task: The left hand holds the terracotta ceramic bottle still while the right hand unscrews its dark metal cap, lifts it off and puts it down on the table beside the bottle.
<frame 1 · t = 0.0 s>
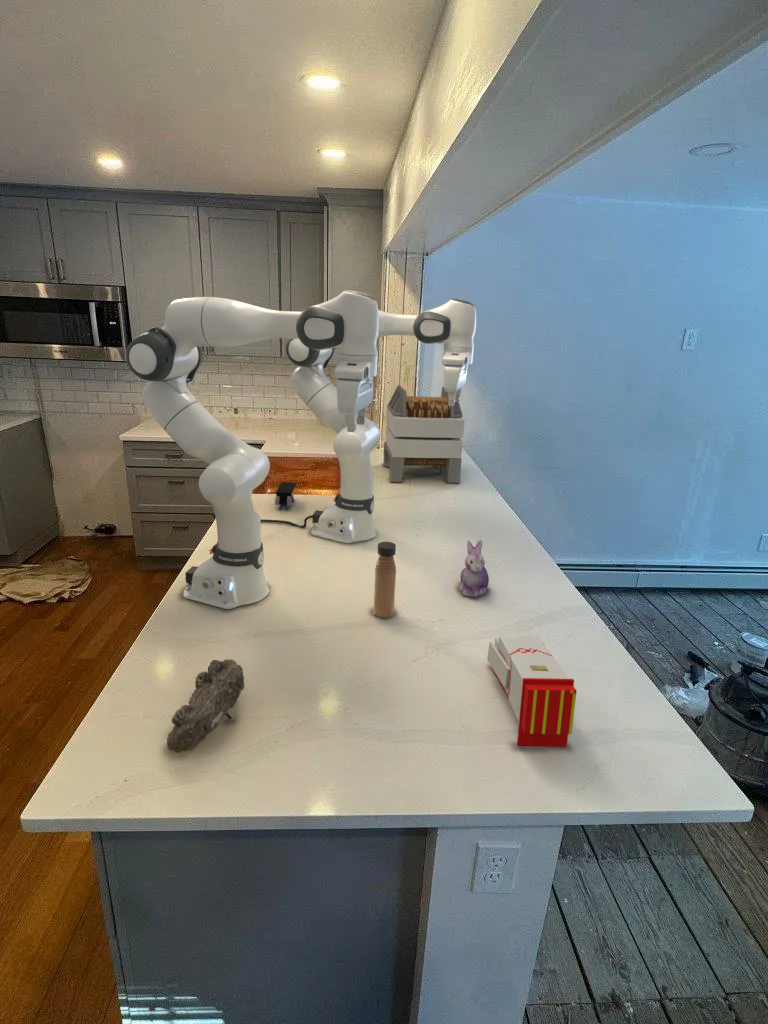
left hand: (356, 427, 133), 48 cm above the counter, tool pointing down, fingers open, 8 cm apart
right hand: (454, 403, 174), 48 cm above the counter, tool pointing down, fingers open, 8 cm apart
fossil: (212, 717, 108), on the counter
bottle: (383, 612, 148), on the counter
cap: (386, 546, 142), point 19 cm above the counter, screwed on, not yet turned
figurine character: (285, 505, 223), on the counter
toy: (522, 699, 117), on the counter
figurine: (473, 590, 162), on the counter
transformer: (419, 473, 275), on the counter
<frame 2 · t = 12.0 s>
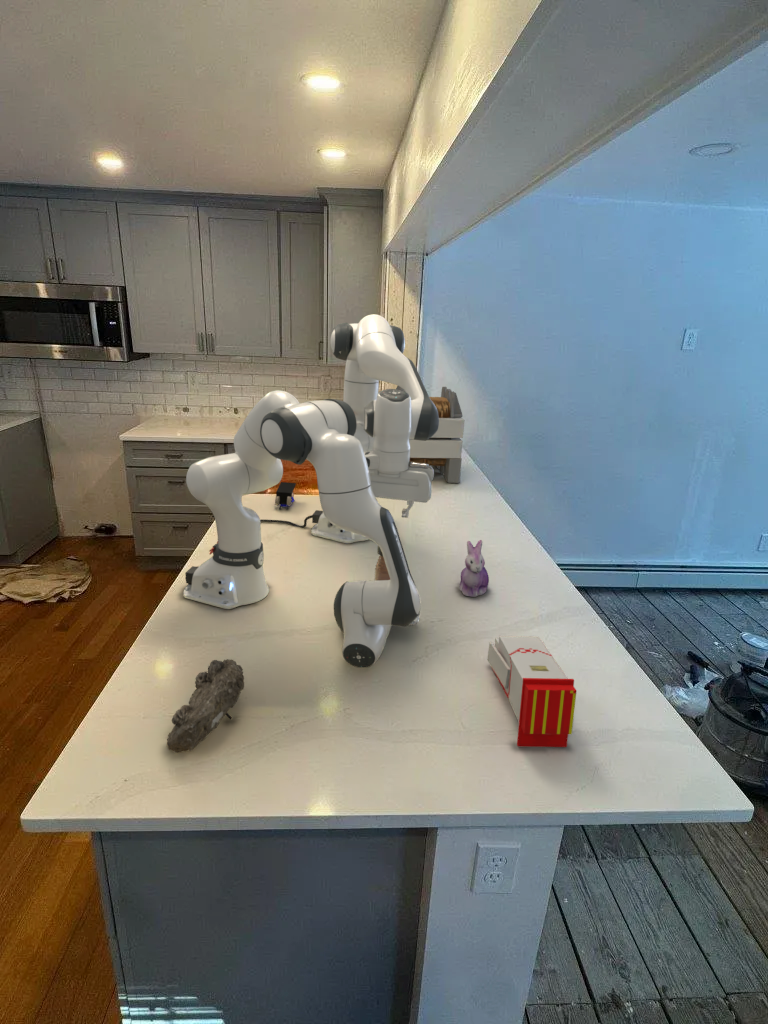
left hand: (385, 592, 147), 5 cm above the counter, tool horizontal, fingers closed on bottle, 5 cm apart
right hand: (388, 514, 139), 27 cm above the counter, tool pointing down, fingers open, 7 cm apart
bottle: (383, 612, 148), on the counter, touching left hand
everything else where it was.
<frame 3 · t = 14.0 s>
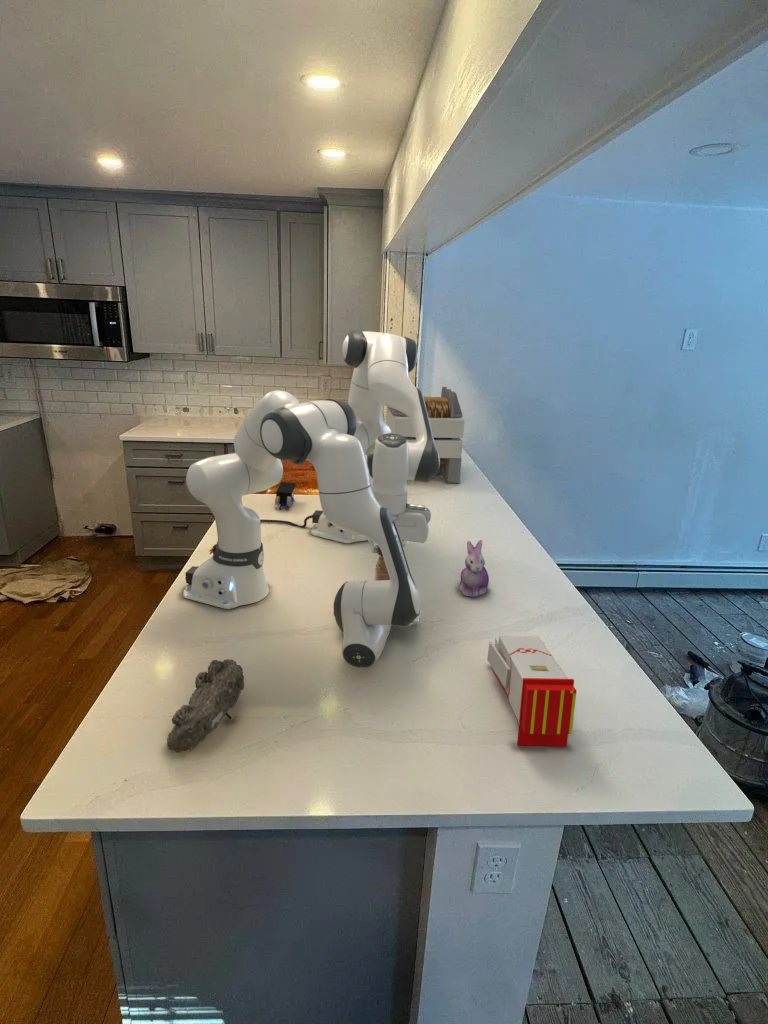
left hand: (385, 592, 147), 5 cm above the counter, tool horizontal, fingers closed on bottle, 5 cm apart
right hand: (386, 553, 142), 17 cm above the counter, tool pointing down, fingers closed on cap, 4 cm apart
bottle: (383, 612, 148), on the counter, touching left hand
cap: (386, 546, 142), point 19 cm above the counter, screwed on, not yet turned, touching right hand
everything else where it was.
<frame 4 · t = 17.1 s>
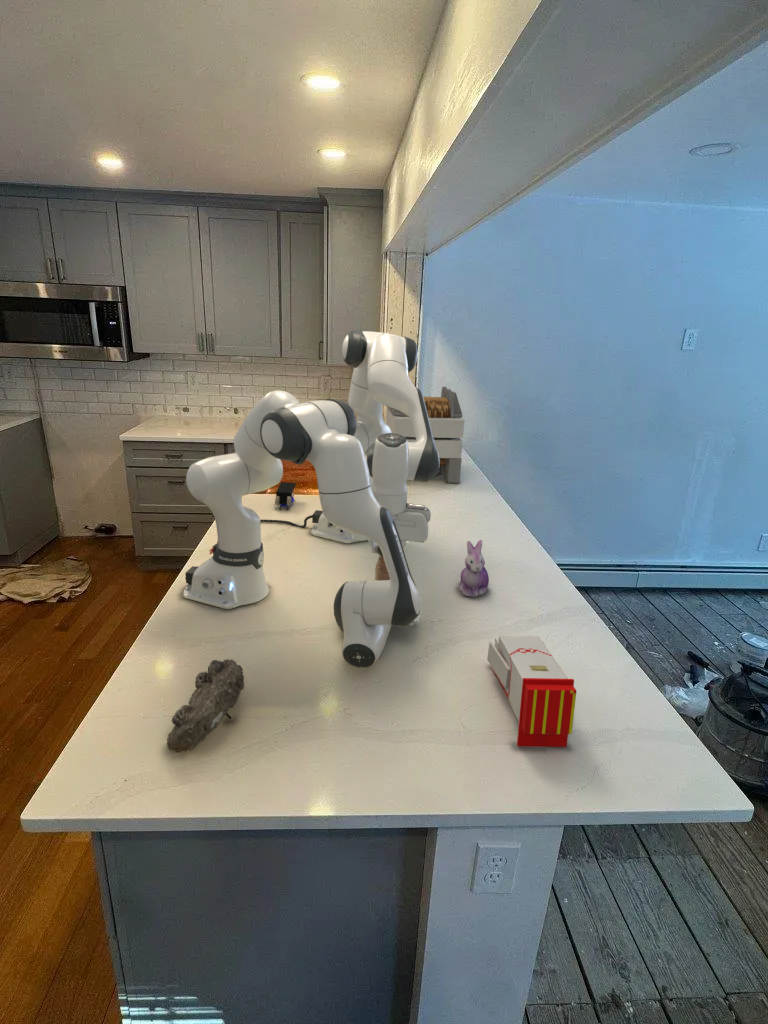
left hand: (384, 592, 147), 5 cm above the counter, tool horizontal, fingers closed on bottle, 5 cm apart
right hand: (386, 553, 142), 17 cm above the counter, tool pointing down, fingers closed on cap, 4 cm apart
bottle: (383, 612, 148), on the counter, touching left hand
cap: (386, 545, 142), point 19 cm above the counter, turned 83° so far, risen 0.1 cm, still on its thread, touching right hand
everything else where it was.
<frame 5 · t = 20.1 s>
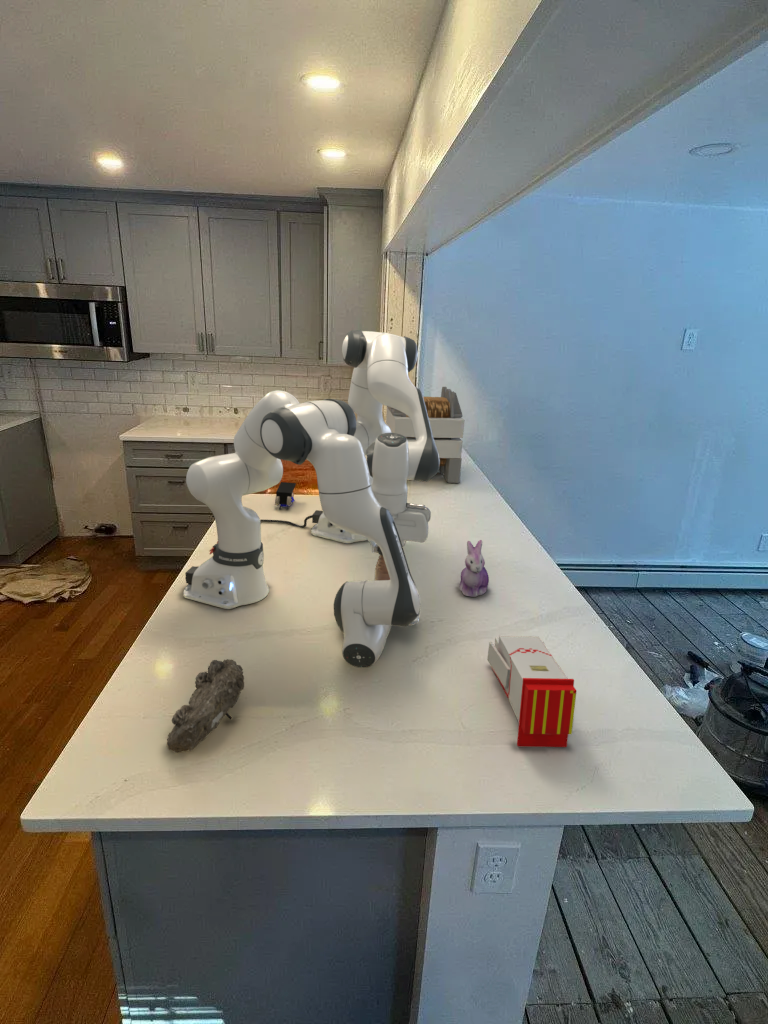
left hand: (384, 592, 147), 5 cm above the counter, tool horizontal, fingers closed on bottle, 5 cm apart
right hand: (386, 553, 142), 17 cm above the counter, tool pointing down, fingers closed on cap, 4 cm apart
bottle: (383, 612, 148), on the counter, touching left hand
cap: (386, 545, 142), point 19 cm above the counter, turned 166° so far, risen 0.2 cm, still on its thread, touching right hand
everything else where it was.
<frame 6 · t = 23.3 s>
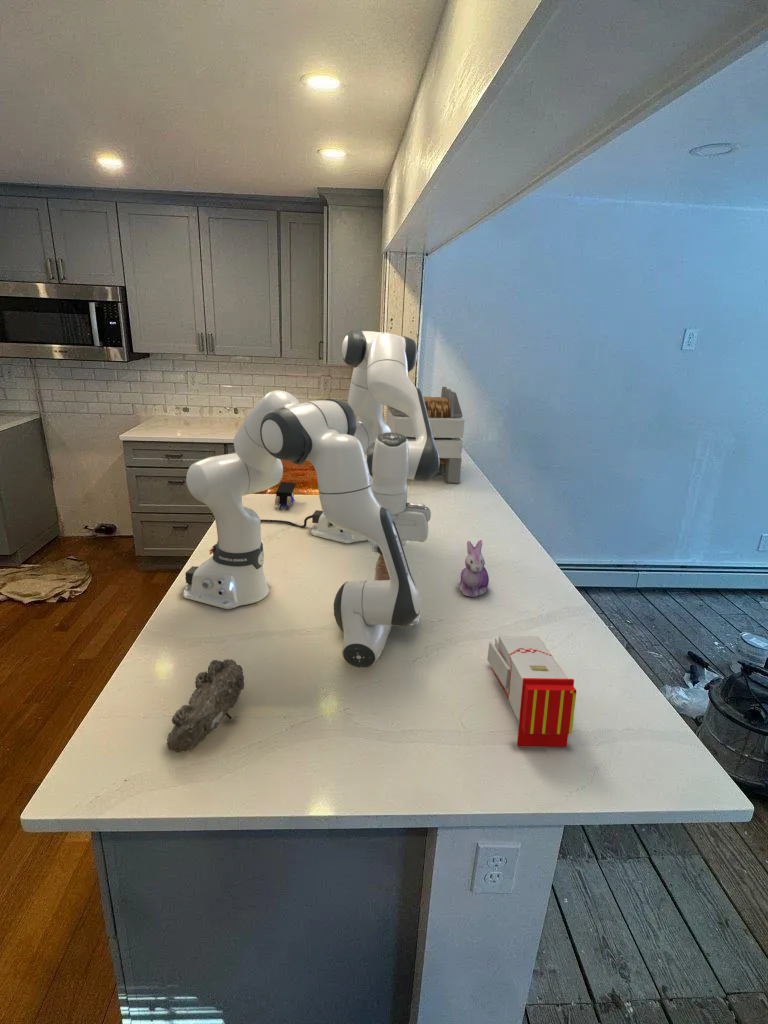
left hand: (384, 592, 147), 5 cm above the counter, tool horizontal, fingers closed on bottle, 5 cm apart
right hand: (386, 553, 142), 17 cm above the counter, tool pointing down, fingers closed on cap, 4 cm apart
bottle: (383, 612, 148), on the counter, touching left hand
cap: (386, 545, 142), point 19 cm above the counter, turned 249° so far, risen 0.3 cm, still on its thread, touching right hand
everything else where it was.
when the right hand's fingers open (2 cm above the counter, at t = 33.5 s): cap drops 2 cm, point 2 cm above the counter.
when the left hand's fingers open (5 cm above the counter, at t = 34.7 s): bottle stays where it is, on the counter.
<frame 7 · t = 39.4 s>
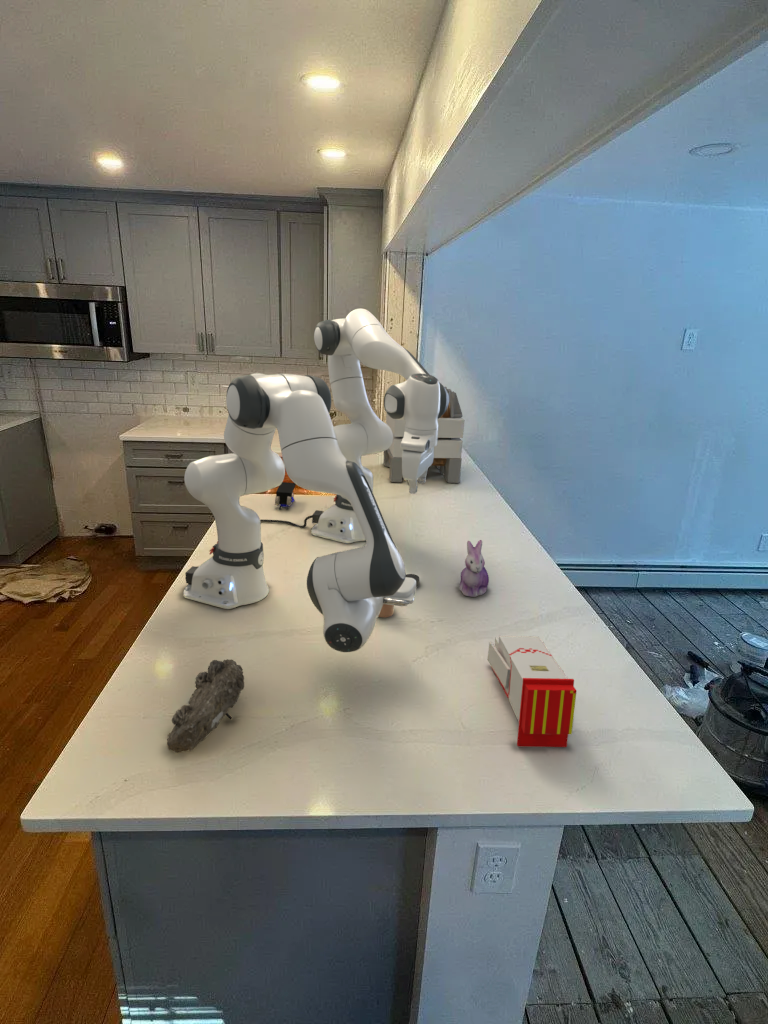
left hand: (376, 570, 130), 18 cm above the counter, tool horizontal, fingers open, 8 cm apart
right hand: (417, 488, 154), 29 cm above the counter, tool pointing down, fingers open, 8 cm apart
bottle: (383, 612, 148), on the counter
cap: (411, 578, 163), point 2 cm above the counter, off its thread
everything else where it was.
at the end: cap came off its thread; cap point 2.0 cm above the counter; the left hand is holding nothing; the right hand is holding nothing; bottle tilted 0°; bottle moved 0.1 cm from its start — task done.
